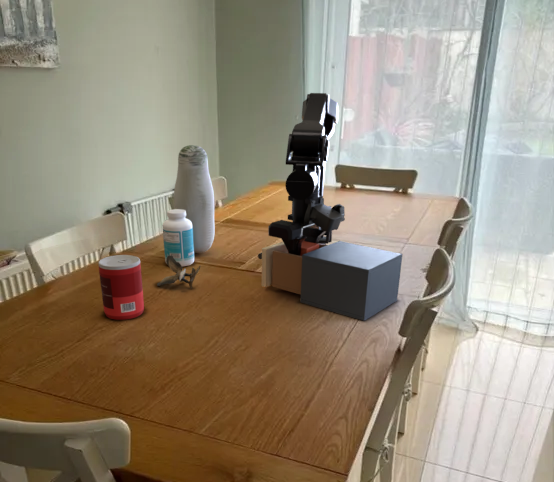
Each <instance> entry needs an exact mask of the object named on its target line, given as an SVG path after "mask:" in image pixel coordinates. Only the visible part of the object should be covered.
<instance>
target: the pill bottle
mask: <svg viewBox="0 0 554 482" xmlns="http://www.w3.org/2000/svg"><path fill="white" fill-rule="evenodd" d="M166 216H167V218H166V219H165V220H164V221H163V222H162V227H161V228H162V238H163V239H162V240H163V251H164V262H165V264H166V265H168V264H167V262H166V260H167V259H166V258H167V257H168V256H170V255H172V256H173V258H174V259H175V261H176V262H179V263H180V264H181V266H182V267H189V266H191V265H193V264H194V262H195V253H194V245H193V228H192V222H191V221H190V220H188V219H186V218H185V217H186V210H182V209H175V208H174V209H169V210H167V211H166Z"/></svg>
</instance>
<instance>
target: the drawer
mask: <svg viewBox="0 0 554 482" xmlns="http://www.w3.org/2000/svg"><path fill="white" fill-rule="evenodd" d="M318 244H319V248H322V247H324V246H327V245H328V244H326V245H325V244H321V243H318ZM257 258H258V259H259V260H261V287H264V288H268V287H270V286H271V287H273V288H275V289H279V290H282V291H286V292H290V293H293V294H297V295H301V274H302V256H298V255H294V254H290V253H288V250H287V248H286V246H285V244H284V242H283V241H280V242H278V243H273V244H271V245H268V246H265V247H262V248H261V252H259V253H258V254H257Z"/></svg>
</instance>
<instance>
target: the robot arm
mask: <svg viewBox="0 0 554 482" xmlns="http://www.w3.org/2000/svg"><path fill="white" fill-rule="evenodd" d="M301 106H302V107H301V120H302V121H301V122H298V123H297V124H295V125H294V127H292V128H293V129H292V130H291V133H289V134H288V140H287V148H286V156H285V165H286V166H287V165H288V166H292V171H291V172H290V173H289V175H287V177H286V180H285V184H284V185H285V190H286V193H287V194H288V196H287V201H289V202H291V213H290V214H287V220H285V219H279V220H276V221H273V222H271V223H270V224H268V229H267V232H268V237H272V238H277V239H281V242H284V244H285V246H286V248H287V250H288V252H289V253H290V254H294V255H298V256H300V252H301V244H302V242H303V241H307V242H311V243H316V244H318V243H321V244H325V245H329V243H332V242H333V241H332V239H333V231H337V230H339V227H340V225H341V223H342V222H344V221H346V218H345V216H346V215H345V213H346V212H345V206H344V205H342V204H341V203H337V204H335V205H333V206H332V205H326V204H325V198H324V189H325V175H326V163H327V162H328V158H329V150H330V139H331V137H332V136H333V135H334V133H335V126H336V125H337V124H338V122H339V104H338V102H337V101H336V100H334V99H332V98H330V94H327V93H326V92H309V93H307V94H306V98H305V100H303V101H302V105H301Z"/></svg>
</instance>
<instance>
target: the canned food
mask: <svg viewBox="0 0 554 482" xmlns="http://www.w3.org/2000/svg"><path fill="white" fill-rule="evenodd" d="M98 274H99V283H100V290H101V298H102V306H103V312H104V314H105V316H106V317H107V318H109V319H111V320H116V321H125V320H132V319H135V318H138V317H139V316H141V315H142V314H143V313H144V310H145V301H144V289H143V287H144V286H143V278H142V277H143V276H142V275H143V274H142V265H141V259H140V257H138V256H135V255H132V254H131V255H130V254H115V255H110V256H105V257H103V258H101V259H100V260H98Z"/></svg>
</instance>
